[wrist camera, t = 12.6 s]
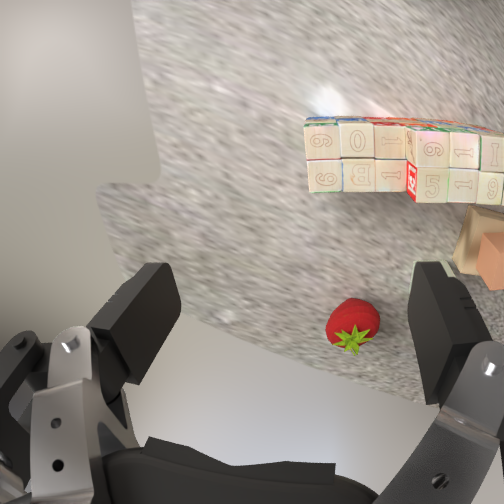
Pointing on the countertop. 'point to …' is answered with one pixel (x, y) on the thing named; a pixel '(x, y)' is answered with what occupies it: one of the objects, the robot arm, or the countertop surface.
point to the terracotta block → (492, 260)
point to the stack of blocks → (406, 158)
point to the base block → (475, 236)
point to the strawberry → (352, 324)
